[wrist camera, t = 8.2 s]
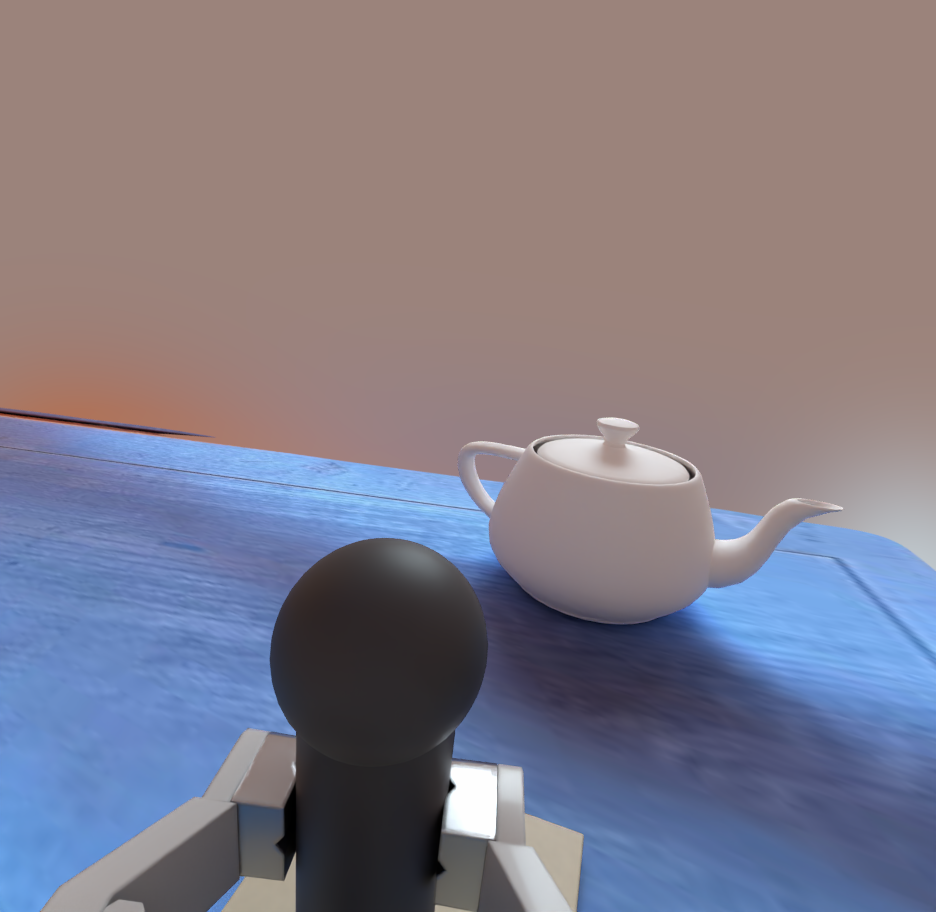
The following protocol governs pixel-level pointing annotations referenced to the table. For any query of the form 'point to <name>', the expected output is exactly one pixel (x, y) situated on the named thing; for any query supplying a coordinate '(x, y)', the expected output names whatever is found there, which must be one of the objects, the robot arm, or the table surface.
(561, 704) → the table surface
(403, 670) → the joystick
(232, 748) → the robot arm
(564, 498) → the teapot
